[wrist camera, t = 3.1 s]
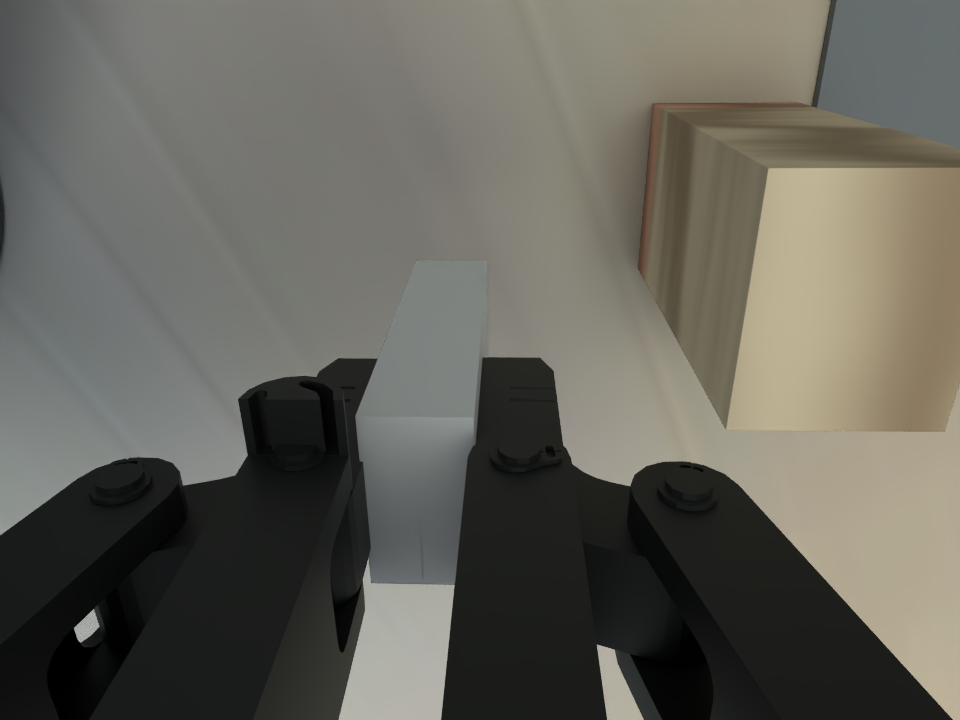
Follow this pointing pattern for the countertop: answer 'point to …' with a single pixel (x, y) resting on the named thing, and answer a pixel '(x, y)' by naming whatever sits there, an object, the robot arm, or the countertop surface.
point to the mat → (894, 65)
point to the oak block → (806, 265)
